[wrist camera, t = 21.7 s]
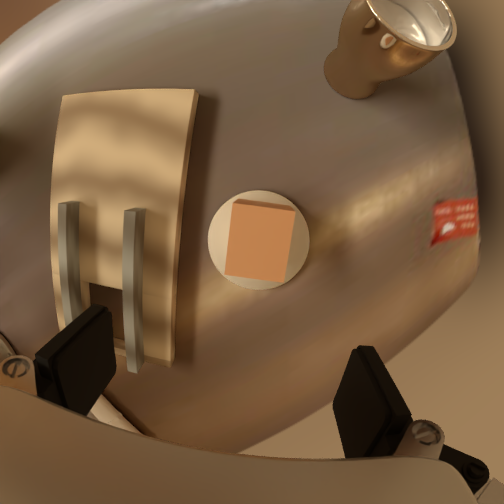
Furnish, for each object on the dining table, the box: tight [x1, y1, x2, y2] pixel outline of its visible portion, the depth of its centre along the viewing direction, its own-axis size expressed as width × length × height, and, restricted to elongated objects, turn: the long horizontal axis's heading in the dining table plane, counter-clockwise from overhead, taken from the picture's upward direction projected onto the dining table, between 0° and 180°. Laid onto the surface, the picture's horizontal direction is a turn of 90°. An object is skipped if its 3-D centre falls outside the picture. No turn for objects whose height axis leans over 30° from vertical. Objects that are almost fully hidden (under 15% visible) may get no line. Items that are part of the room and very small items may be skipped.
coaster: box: [208, 190, 310, 290], centre depth 30 cm, size 10×10×1 cm
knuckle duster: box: [87, 394, 143, 435], centre depth 37 cm, size 3×18×15 cm
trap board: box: [50, 89, 199, 373], centre depth 28 cm, size 30×16×4 cm, turn 172°
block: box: [224, 198, 295, 283], centre depth 27 cm, size 6×5×5 cm
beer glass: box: [324, 0, 457, 99], centre depth 18 cm, size 7×7×15 cm
